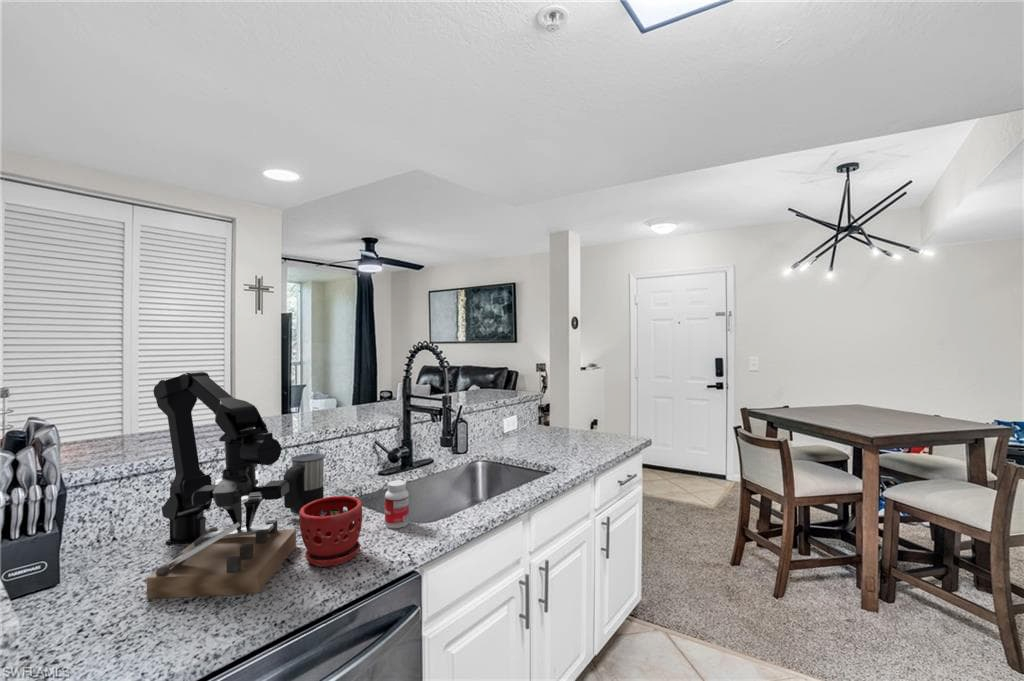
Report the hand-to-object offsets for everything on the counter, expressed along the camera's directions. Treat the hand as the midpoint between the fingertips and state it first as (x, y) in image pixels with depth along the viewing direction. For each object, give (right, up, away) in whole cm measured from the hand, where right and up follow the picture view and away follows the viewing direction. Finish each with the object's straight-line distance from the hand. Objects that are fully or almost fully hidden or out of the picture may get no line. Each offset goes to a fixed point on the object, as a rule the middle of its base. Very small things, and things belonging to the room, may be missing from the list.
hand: (243, 529), depth 108 cm
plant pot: (+20, -6, -1) cm, 21 cm away
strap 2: (-1, -1, 0) cm, 1 cm away
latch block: (+1, -6, -6) cm, 9 cm away
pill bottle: (+30, -6, +18) cm, 36 cm away
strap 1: (0, +2, -13) cm, 13 cm away
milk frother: (+5, -6, +28) cm, 30 cm away
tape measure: (+16, -6, +16) cm, 23 cm away
